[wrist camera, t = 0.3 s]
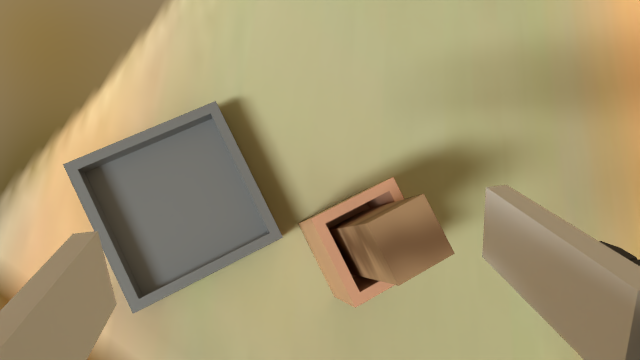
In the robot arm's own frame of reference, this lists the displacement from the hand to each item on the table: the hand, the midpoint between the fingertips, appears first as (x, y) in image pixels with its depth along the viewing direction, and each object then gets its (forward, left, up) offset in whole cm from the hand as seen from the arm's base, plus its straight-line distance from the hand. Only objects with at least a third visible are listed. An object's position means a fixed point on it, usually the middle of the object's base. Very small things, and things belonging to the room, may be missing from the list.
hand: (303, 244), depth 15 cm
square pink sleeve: (-4, -9, -34) cm, 36 cm away
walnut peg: (-4, -9, -33) cm, 35 cm away
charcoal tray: (+8, +6, -34) cm, 35 cm away
